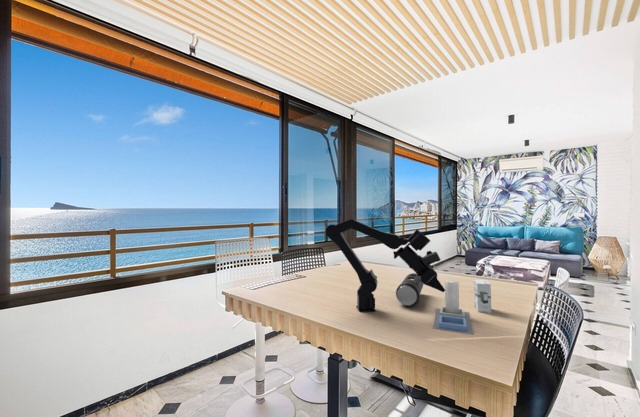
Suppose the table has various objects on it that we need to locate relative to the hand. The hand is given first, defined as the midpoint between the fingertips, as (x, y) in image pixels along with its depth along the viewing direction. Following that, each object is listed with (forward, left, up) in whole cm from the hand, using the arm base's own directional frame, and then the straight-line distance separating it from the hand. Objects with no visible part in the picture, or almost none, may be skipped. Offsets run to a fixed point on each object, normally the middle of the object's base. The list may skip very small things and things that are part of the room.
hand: (442, 288), depth 110 cm
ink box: (+19, +4, -11) cm, 22 cm away
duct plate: (0, -6, -10) cm, 12 cm away
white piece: (+3, -1, -10) cm, 10 cm away
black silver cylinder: (-4, +21, -11) cm, 24 cm away
